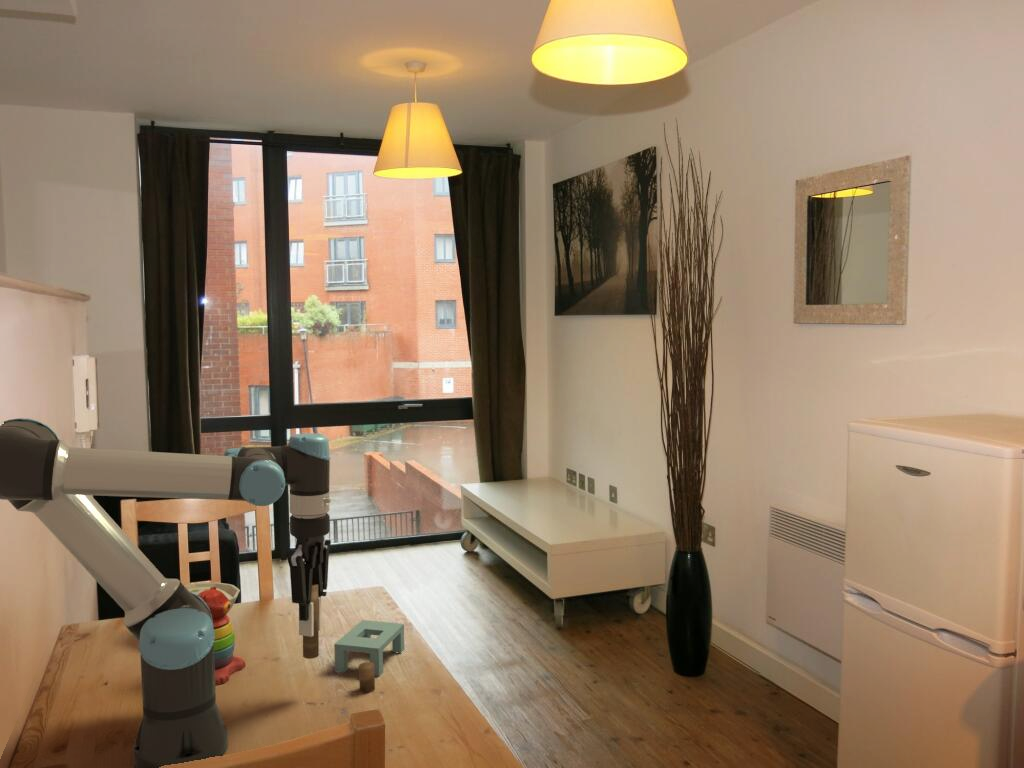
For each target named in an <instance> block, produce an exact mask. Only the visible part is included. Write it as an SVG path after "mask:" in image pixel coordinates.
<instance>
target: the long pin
mask: <svg viewBox="0 0 1024 768" xmlns="http://www.w3.org/2000/svg"><path fill="white" fill-rule="evenodd" d="M311 602H313V611H314V635H313V636H312V637H310V636H302V657H303V658H304V659H306V660H307V659H311V660H312V659H316V658H318V657H319V655H320V654H319V653H320V652H319V649H320V648H319V644H320V643H319V637H320V635H319V634H320V633H319V627H318V584H314V583H312V592H311Z"/></svg>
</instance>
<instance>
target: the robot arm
mask: <svg viewBox="0 0 1024 768" xmlns="http://www.w3.org/2000/svg"><path fill="white" fill-rule="evenodd" d="M3 422H4V424H2V425H1V426H0V500H3V501H5V500H7V501H8V502H9V503H10V504H11V505H12V506H13V507H14V508H15V509H16V511H18V512H26V513H27V512H29V513H33V514H34V515H35V516H36V517H37V518H38V519H39V521H40V522H41V523H43V525H44V526H45V527H46V528H47V529H48V530H49V532H50V533H51V534H52V535H53V536H54V537H55V538H56V539H57V540H58V541H59V542H60V544H61V545H63V547H64V548H65V549H66V550H68V552H69V553H70V554H71V556H72V557H74V558H75V560H76V561H78V563H79V564H80V565H81V566H82V567H83V568H84V569H85V570H86V571H87V572H88V574H89V575H90V576H91V577H92V578H93V579H94V580H95V581H96V582H97V583H98V584H99V585H100V586H101V588H102V589H103V590H105V592H106V593H107V594H108V595H109V596H110V598H112V599H113V601H114V602H116V604H117V605H118V606H119V607H120V608H121V609H122V610H123V611H124V620H123V625H124V626H125V628H126V629H127V630H128V631H129V632H130V633H131V634H132V635H133V636H134V637H135V639H137V641H138V651H139V653H140V674H141V677H140V678H141V694H142V695H141V697H142V717H141V722H140V724H139V728H138V731H137V734H136V737H135V741H134V744H133V750H132V753H133V756H132V757H133V765H134V766H135V768H159V767H161V766H164V765H171V764H178V763H184V762H189V761H194V760H201V759H206V758H209V757H215V756H221V755H222V756H224V754H226V751H228V750H227V749H228V747H229V732H228V729H227V727H226V725H225V723H224V720H223V718H222V715H221V712H220V709H219V706H218V704H217V697H216V695H217V693H216V690H217V689H216V685H215V661H214V640H215V632H214V628H213V620H212V615H211V613H210V609H209V607H208V606H207V604H206V603H205V602H204V601H203V600H202V599H201V598H200V597H199V596H198V595H196V594H194V593H192V592H189V591H188V590H187V589H186V587H185V585H184V584H183V583H182V582H181V581H180V580H179V578H167V577H165V576H164V575H163V574H162V573H161V572H160V571H159V569H158V568H156V566H155V565H154V564H153V563H152V562H151V561H150V559H149V558H148V557H147V556H146V555H145V554H144V552H142V550H141V549H140V548H139V547H138V546H137V544H135V542H134V541H133V540H132V539H131V538H130V537H129V536H128V535H127V534H126V533H125V531H123V529H122V528H121V527H120V526H119V524H118V523H116V522H115V520H114V518H112V517H111V516H110V515H109V513H107V512H106V510H105V509H104V508H103V506H101V505H100V503H99V502H98V501H97V500H96V499H95V498H94V497H93V496H102V497H105V496H107V497H134V498H135V497H136V498H162V499H163V498H165V499H168V498H169V499H189V500H190V499H193V500H218V501H219V500H220V501H221V500H223V501H225V500H226V501H239V502H240V501H241V502H247V503H249V504H251V505H254V506H258V507H267V506H270V505H272V504H274V503H275V502H277V501H279V499H280V498H281V497H282V495H283V494H284V491H285V488H286V486H289V513H290V516H289V534H290V535H291V536H292V537H294V538H295V539H296V541H295V546H294V551H295V552H294V553H293V554H289V555H288V556H287V563H288V567H289V575H290V577H289V578H290V590H291V591H290V592H291V593H290V594H291V602H292V603H291V604H298V635H299V636H302V637H303V636H310V637H312V636H313V635H314V611H313V602H311V592H312V583H314V584H318V627H319V631H321V630H322V597H326V596H327V593H328V592H327V591H326V590H328V582H329V581H328V579H329V578H328V575H329V560H330V557H329V556H330V550H331V549H330V548H331V539H325V536H326V535H328V534H330V529H331V526H330V523H331V522H330V519H331V516H330V515H329V513H328V512H329V511H330V504H331V501H332V500H331V498H330V472H331V471H330V468H331V466H330V465H331V463H330V461H331V457H330V444H329V443H330V441H329V438H328V437H327V436H326V435H324V434H321V433H313V432H312V433H311V432H305V433H296V434H292V435H291V436H290V437H289V439H288V443H287V445H286V444H285V445H279V446H250V447H249V446H248V447H247V446H240V447H235V448H233V447H232V448H227V449H226V450H225V451H224V452H223V455H217V454H197V453H196V454H195V453H180V452H179V453H177V452H162V451H161V452H160V451H159V452H158V451H142V450H139V451H138V450H127V449H126V450H124V449H111V448H110V449H108V448H107V449H105V448H90V447H88V448H87V447H74V446H72V447H71V446H69V445H68V444H67V443H66V442H64V441H63V440H61V439H60V438H59V437H58V435H57V433H55V431H54V429H52V428H51V427H50V426H49V425H47V424H46V423H44V422H42V421H39V420H37V419H34V418H33V419H32V418H12V419H8V420H4V421H3ZM222 756H221V757H222Z"/></svg>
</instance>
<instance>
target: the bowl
mask: <svg viewBox="0 0 1024 768" xmlns="http://www.w3.org/2000/svg"><path fill="white" fill-rule="evenodd" d="M184 586H185V587H186V589H187V590H188V591H189V592H192V593H194V594H196V595H198V594H199V593H201V592H203V591H206V590H210V588H211V587H216V590H219V591H221V592H222V593H223V594H224V595H225V596H226V597H227V598H228V599H229V601H230V604H231V606H230V609H229V611H228V612H227V613H226V615H227V616H228V613H230V611H231V609H232V608H233V606H234V604H235V602H236V600H237V598H238V595H239V593H240V591H241V590H240V589H239V588H238V587H237V586H235V585H234V584H230V583H223V582H217V581H215V582H197V583H189V584H185V585H184Z"/></svg>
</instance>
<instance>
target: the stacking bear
mask: <svg viewBox="0 0 1024 768" xmlns="http://www.w3.org/2000/svg"><path fill="white" fill-rule="evenodd" d="M198 596H199V597H200V598H201V599H202V600H203V601H204V602H205V603H206V604H207V606H208V607H209V609H210V613H211V615H212V620H213V628H214V632H215V640H214V661H215V686H217V685H223V684H225V683H226V682H228V681H229V680H230V676H231V675H232V674H233V673H235V672H239V671H241V670H243V668H245V667H246V662H245V660H244V659H243V658H242V657H238V656H234V651H235V642H236V641H235V640H236V638H235V632H234V629H233V626H232V623H231V620H230V617H229V616H228V613H229V612H230V611H229V609H230V606H231V604H230V601H229V599H228V598H227V597H226V596H225V595H224V594H223V593H222V592H221V591H219V590H216V587H211V588H210V590H206V591H203V592H201V593H199V594H198ZM228 611H229V612H228ZM227 612H228V613H227ZM226 613H227V615H226Z"/></svg>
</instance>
